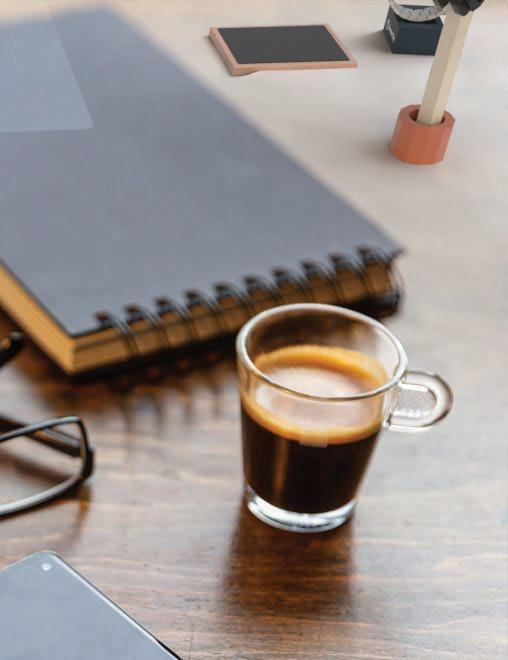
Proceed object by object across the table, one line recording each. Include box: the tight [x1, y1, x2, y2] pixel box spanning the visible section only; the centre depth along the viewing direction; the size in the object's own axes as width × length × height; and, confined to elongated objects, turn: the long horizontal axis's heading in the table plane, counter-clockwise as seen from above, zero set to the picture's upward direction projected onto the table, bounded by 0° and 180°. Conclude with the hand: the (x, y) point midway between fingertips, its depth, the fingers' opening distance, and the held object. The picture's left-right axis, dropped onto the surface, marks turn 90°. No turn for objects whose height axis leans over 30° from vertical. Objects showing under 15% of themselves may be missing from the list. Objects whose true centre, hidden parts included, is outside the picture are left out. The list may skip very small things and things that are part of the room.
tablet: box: [208, 23, 358, 76], centre depth 128 cm, size 12×9×1 cm
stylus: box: [416, 4, 475, 125], centre depth 104 cm, size 1×1×16 cm
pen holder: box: [388, 103, 456, 166], centre depth 110 cm, size 4×4×5 cm
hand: (446, 4), depth 101 cm, fingers closed on stylus, 1 cm apart
